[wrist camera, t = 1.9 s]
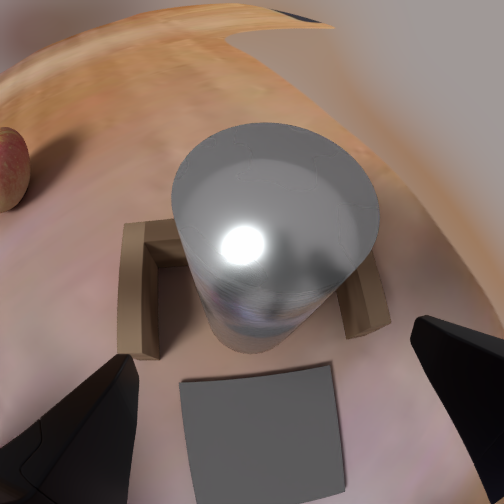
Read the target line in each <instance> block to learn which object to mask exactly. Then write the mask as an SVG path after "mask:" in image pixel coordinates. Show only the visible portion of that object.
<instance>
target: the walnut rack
mask: <svg viewBox="0 0 504 504" xmlns="http://www.w3.org/2000/svg"><path fill="white" fill-rule="evenodd" d="M188 265H189V264H188V261H187V258H186V255H185V252H184V249H183V245H182V242H181V239H180V236H179V232H178V229H177V226H176V222H175V219H166V220H156V221H146V222H136V223H127V224H124V229H123V238H122V247H121V257H120V269H119V284H118V307H117V353H118V354H130V355H131V356H132V358H134V359H137V360H160V353H159V332H158V268H162V267H175V266H188ZM336 291H337V296H338V300H339V305H340V310H341V314H342V319H343V324H344V329H345V334H346V339H351V338H356V337H361V336H365V335H367V334H369V333H371V332H374V331H376V330H378V329H380V328H382V327H384V326H386V325H388V324H390V323H391V319H390V314H389V310H388V306H387V302H386V298H385V294H384V291H383V287H382V283H381V280H380V276H379V272H378V269H377V266H376V262H375V259H374V256H373V252H372V249H371V251H370V252H369V254H368V255H367V257H366V258H365V260H364V261H363V262H362V263H361V264H360V265H359V266H358V267H357V268H356V269H355V270H354V271H353V273H352V274H351V275H350V276H349V277H348V278H347V279H346V280H345V281H344V282H343V283H342V284H341V285H340V286H339V287H338V288H337V289H336Z"/></svg>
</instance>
